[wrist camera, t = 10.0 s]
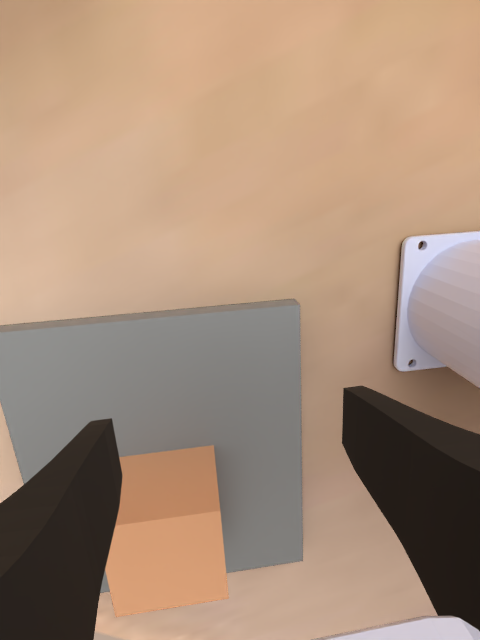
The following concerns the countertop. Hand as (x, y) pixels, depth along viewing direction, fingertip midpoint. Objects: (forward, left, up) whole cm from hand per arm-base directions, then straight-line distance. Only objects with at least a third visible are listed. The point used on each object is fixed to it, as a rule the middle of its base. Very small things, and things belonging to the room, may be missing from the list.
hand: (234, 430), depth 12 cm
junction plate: (+3, +8, -10) cm, 14 cm away
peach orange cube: (+3, +10, -9) cm, 14 cm away
